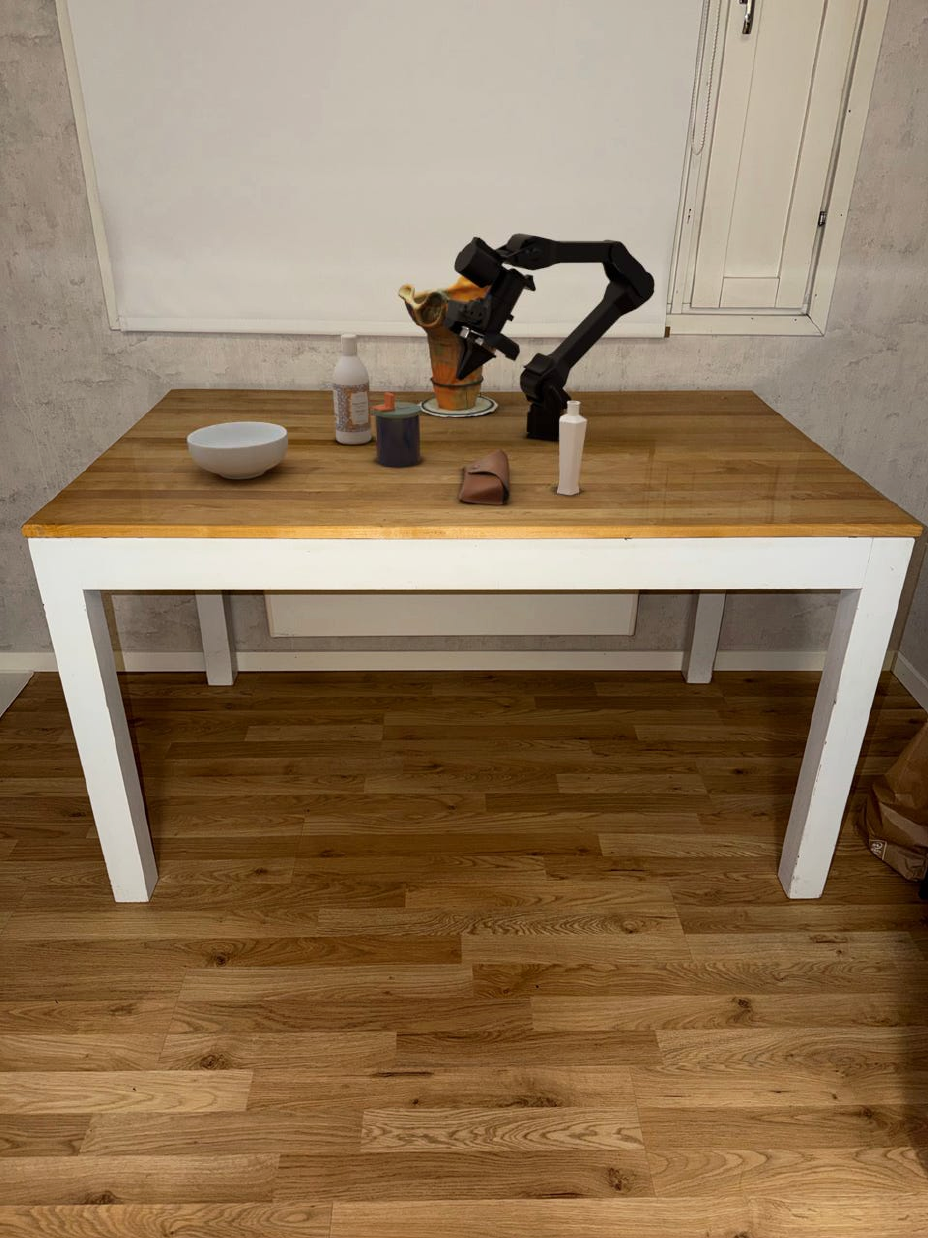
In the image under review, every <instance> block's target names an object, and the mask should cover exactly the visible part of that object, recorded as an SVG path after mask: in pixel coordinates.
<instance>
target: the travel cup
mask: <svg viewBox="0 0 928 1238" xmlns="http://www.w3.org/2000/svg"><path fill="white" fill-rule="evenodd" d="M394 403H395V407H394V408H395V410H391V411H384V412H379V411H377V410H375V409H373V408H372V413H373V414H374V422H375V446H376V462H377V463H378V464H379V465H381V466H383V467H384V466H385V467H390V468H407V467H412V466H415V465H417V464H419V463H420V462H421V417H420V414H421V413H422V410H421V407H420V406H419V405H417V403H413V402H405V401H394ZM380 405H385V402H383V403H379V404H377V405H375V406H380Z"/></svg>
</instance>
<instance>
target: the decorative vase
mask: <svg viewBox="0 0 928 1238" xmlns="http://www.w3.org/2000/svg"><path fill="white" fill-rule="evenodd" d="M488 288H489V286H486V287H484V288H479V287H478V286H476V285H475V284H473V283H472V282H471V281H469V280H468V279H466V278H465V277H463V276H462V275H460V276H459V278H458V279H457V280H456V282H455V283H454V284H451V285H450V286H447V287H441V288H434V289H426V290H422V291H418V292H415V291H416V290H415V286H414V285H413V284H412V283H406V284H402V285H401V286H400V287H399V289H398V292H397V295H398V297H399V298H401V299H402V300H403V302H404V306H405V309H406V311H407V314H408V315H409V316H410V318H411V320H412V321H413V322H414V324H415V325H416V326H418V327H420V328H421V329H422V330H423V331H424V333H426V339H427V344H428V350H429V359H430V367H431V372H432V373H431V374H432V376H431V377H430V378H429V380H428V382H431V384H432V387H433V391H434V395H435V397H432V398H427V399H425V400H423V401H420V402H419V403H416V405H419V406H420V407H421V412H422V413H423V412H424V413H426V414H429V415H432V416H437V417H444V418H447V417H451V418H452V417H454V418H458V417H459V418H460V417H471V416H473V417H474V416H475V417H477V416H483V415H485V414H488V413H492V412H495V410H497V408H498V406H499V404H498V403H497V402H496V401H495V400H493V399H491V398H489V397H487V396H483V394H482V393H481V390H482V383H483V381H484V380H485V378H484V376H483V375H482V374H483V369H484V364H483V365H482V366H480V367H479V368H478V369H476V370H475V371H474V372H472V373H471V374H470V375H468V376H467V377H466V378H465V379H463V380H462V381H461V380H459V379H457V378H456V372H457V367H458V362H459V356H460V343H459V340H458V338H457V337H456V335H455V334H454V333H452V332H451V331H449V330H448V329H446V328H445V327H443V326H442V325H443V323H444V321H445V319H446V314H447V309H448V303H449V299H453V300H459V301H465V302H469V300H470V299H471V300H476V298H478V297H482V298H484V296H485V294H486V292H487V290H488ZM428 387H429V384H427V386H426V389H425V391H427V390H428ZM425 396H426V394H425V395H423V397H425Z"/></svg>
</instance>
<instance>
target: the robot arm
mask: <svg viewBox="0 0 928 1238" xmlns="http://www.w3.org/2000/svg"><path fill="white" fill-rule="evenodd" d="M559 264H602V267H603V271H604V274H605V276H606V278H607V280H608V281H609V282H608V284H607V285H606V287H605V290H604V293H603V297H602V299H601V301H600V302H599V303H598V304H597V305H596V306H595V307H594V308H593V310H592V311H590V312H589V314H587V316H586V317H585V318H584V319H582V321H581V322H580V323H579V324H578V325H577V326H576V327H575V328H574V329H573V330H572V331H571V332H570V334H569V335H568V336H567V337H566V338H564V340H563V341H561V343H560V344H559V345H558V346H557V347H556V348H555V349H554V350H553V351H552V352H550V353H549V354H547V355H546V354H544V353H541V352H536V353H535V355H533V357H532V359H531V360H530V361H529V362H528V363H526V364H524V365H523V370H522V372H521V373H520V375H519V388H520V390H521V392H522V393H524V396H525V399H526V401H527V402H528V403H531V404H530V405H529V410H528V411H527V413H526V433H527V434H526V435H525V438H528V439H536V440H545V441H553V442H556V441H558V440H559V420H560V417H561V416H563V415H565V410H568V404H567V402H568V401H572V397H571V396H570V395H569V394H568V393H567V392H566V390H565V389H564V387H565V386H566V385H567V381H568V379H569V376H570V372H571V370H572V369H573V368H574V367H575V366H576V365H577V363H578V362H579V361H580V360H581V359H582V358H584V356H585V355H586V354H587V353H588V352H589V351H590V349H592V348H593V346H595V344H596V343H598V341H599V340H600V339H601V338H602V337H603V336H604V335H605V334H606V333H607V331H609V330H610V329H611V328H612V327H613V326H614V324H615V323H616V322H617V321H618V320H619V319H620V318H622V317H623V316H625V315H627V314H630V313H631V312H632V313H633V312H634V311H636V310H638V309H639V308H640V307H642V306H643V305H645V304H646V303H647V302H648V301H649V300H650V299H651V298H652V297H653V295H654V293H655V279H654V276H653V275H652V273H650V272H649V271H647V270H646V269H645V267H644V265H642V264H641V262H639V261H638V259H637V258H636V257H635V256H633V254H631V252H630V251H629V249H628V248H627V246H626V245H625V244H624V243H623V242H622V241H618V240H613V239H604V240H555V239H551V238H547V237H544V236H538V235H532V234H526V233H519V232H518V233H514V234H512V235H511V236H510V238H509V239H507V242H506V243H505V244H503V245H501V246H499V247H497V248H495V249H494V248H493V247H491V246H490V245H488V244H487V242H486V241H485V240H484V239H482V238H481V237H479V236H473V237H472V239H471V240H470V242H469V243H467V244H466V245H465V246H463V248H462V249H461V251H459V252H458V253H457V256H456V258H455V261H454V265H453V266H454V267H453V269H454V271H455V272H456V273H458V274H459V275H460V276H461V275H462V276H463V277H465V278H466V279H468V280H469V281H471V282H472V283H473V284H475V285H476V286H478V287H479V288H484V287H486V286H489V288H488V290H487V292H486V294H485V296H484V298H482V297H478V298H476V300H471V299H470V300H469V302H465V301H459V300H453V299H449V303H448V309H447V314H446V319H445V321H444V323H443V325H442V326H443V327H445V328H446V329H448V330H449V331H451V332H452V333H454V334H455V335H456V337H457V338H458V340H459V343H460V356H459V362H458V367H457V372H456V378H457V379H459V380H461V381H462V380H463V379H465V378H466V377H467V376H468V375H470V374H471V373H472V372H474V371H475V370H476V369H478V368H479V367H480V366H482V365H483V366H484V365H485V364H486V363H488V362H490V361H491V360H493V359H497V357H498V355H497V354H496V351H498V352H500V353H501V354H503V355H504V358H506V359H508V360H510V361H513V362H516V360H517V359H518V357H519V355H520V353H521V349H520V344H518V343H516V341H514V340H512V338H510V337H508V336H506V335H505V334H503V333H502V331H503V330H504V328H505V325H506V324H507V322H508V321H509V322H511V323H512V322H513V320H514V319H515V315H513V314H512V312H513V311H514V308H515V306H516V305H517V303H518V301H519V299H520V297H521V295H522V293H523V292H524V290H526V291H529V292H536V290H537V287H536V284H535V280H534V275H533V274H529V273H527V274H523V273H522V272H520V271H519V270H518V269H516V268H519V269H521V270H522V269H523V270H528V271H538V270H543V269H548V268H550V267H552V266H555V265H559ZM503 265H508V266H511V267H512V268H509V269H508V268H506V267H505V266H503Z"/></svg>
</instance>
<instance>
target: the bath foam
mask: <svg viewBox="0 0 928 1238" xmlns="http://www.w3.org/2000/svg"><path fill="white" fill-rule="evenodd" d="M357 339H358V338H357V335H356V334H353V333H345V334H341V335H340V348H341V350H340V351H341V356H340V357H339V359H338V361H337V363H336V365H335V367H334V370H333V372H332V393H333V394H332V395H333V409H334V412H333V413H334V427H335V428H334V429H335V439H336V441H337V442H338V443H340V444H343V445H350V446H351V445H355V446H356V445H357V446H358V445H363V444H366V443H368V442H370V441H371V440H372V417H371V416H372V415H371V414H372V413H371V393H370V391H371V390H370V388H371V387H370V376H369V373H368V370H367V367H366V366H365V364H364V363H363V361H362V360H361V358H360V357H359V355H358V341H357Z"/></svg>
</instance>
